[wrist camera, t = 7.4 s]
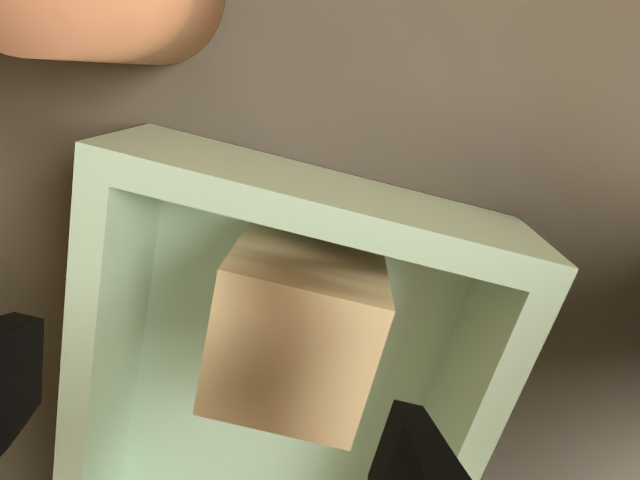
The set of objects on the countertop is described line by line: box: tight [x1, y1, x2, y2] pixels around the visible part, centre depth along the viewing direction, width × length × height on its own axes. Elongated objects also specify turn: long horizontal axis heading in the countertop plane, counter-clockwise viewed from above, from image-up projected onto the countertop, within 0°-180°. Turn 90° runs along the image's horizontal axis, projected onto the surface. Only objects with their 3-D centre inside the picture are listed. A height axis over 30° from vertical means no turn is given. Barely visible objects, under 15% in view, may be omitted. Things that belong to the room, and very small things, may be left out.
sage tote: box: [53, 124, 579, 480], centre depth 18 cm, size 14×18×5 cm
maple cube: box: [192, 222, 395, 451], centre depth 16 cm, size 5×5×5 cm
